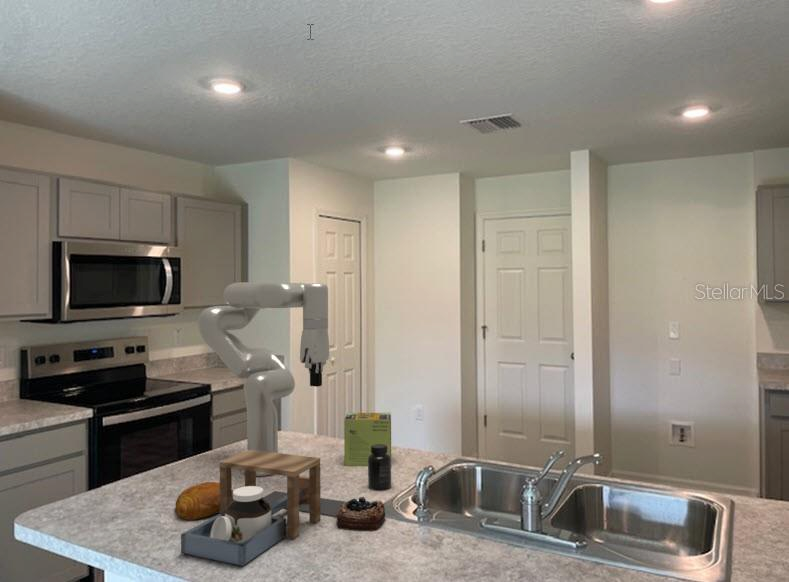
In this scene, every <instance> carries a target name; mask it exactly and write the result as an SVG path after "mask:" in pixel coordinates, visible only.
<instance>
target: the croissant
mask: <svg viewBox="0 0 789 582" xmlns="http://www.w3.org/2000/svg"><path fill="white" fill-rule="evenodd" d="M233 491H234V490H233V489H232V500H233ZM174 509H175V512H176V513H177V514H178V515H179V516H180V517H181V518H183V519H186V520H189V521H193V520H198V519H202V518H206V517H209V516H212V515H213V516H214V515H218V514H220V482H216V481H205V482H202V483H198V484H196V485H193V486H190V487H188V488H185V489H184V490H182V492H181V493H180V494H179V495H178V497H177V498H176V501H175V508H174Z"/></svg>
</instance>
